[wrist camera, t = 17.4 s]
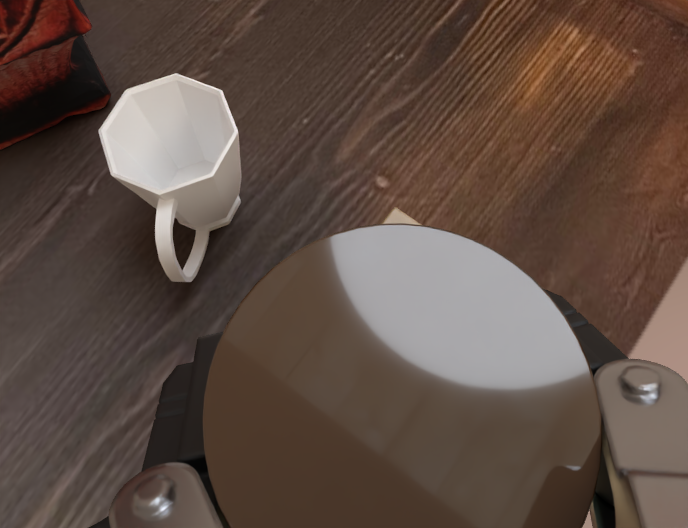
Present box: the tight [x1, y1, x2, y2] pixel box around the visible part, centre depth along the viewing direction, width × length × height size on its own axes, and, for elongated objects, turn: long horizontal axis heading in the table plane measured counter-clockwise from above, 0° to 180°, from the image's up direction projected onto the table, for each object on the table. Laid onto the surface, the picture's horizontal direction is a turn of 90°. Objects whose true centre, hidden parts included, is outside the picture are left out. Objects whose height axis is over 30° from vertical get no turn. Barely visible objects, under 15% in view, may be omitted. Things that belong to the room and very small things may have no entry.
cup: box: [98, 73, 242, 282], centre depth 31 cm, size 7×10×8 cm
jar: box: [202, 223, 602, 528], centre depth 11 cm, size 5×5×9 cm
